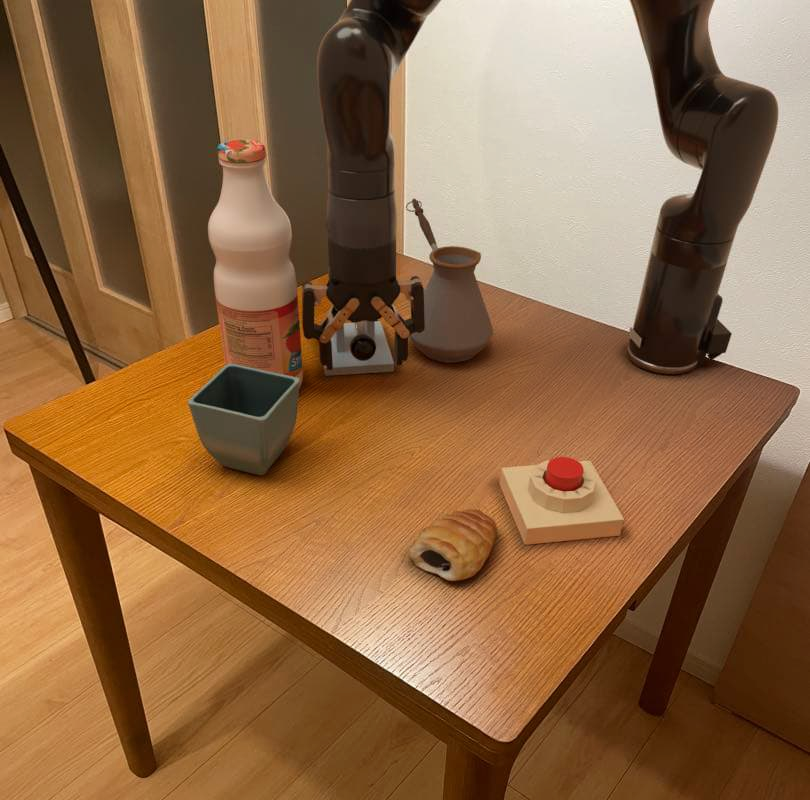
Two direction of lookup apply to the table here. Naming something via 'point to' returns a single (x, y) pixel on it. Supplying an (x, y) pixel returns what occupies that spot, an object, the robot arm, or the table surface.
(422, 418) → the table surface
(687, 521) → the table surface
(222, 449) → the flower pot
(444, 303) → the coffee pot
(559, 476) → the button
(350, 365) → the bracket
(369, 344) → the lever
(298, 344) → the fruit juice
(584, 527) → the button block
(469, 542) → the pastry
